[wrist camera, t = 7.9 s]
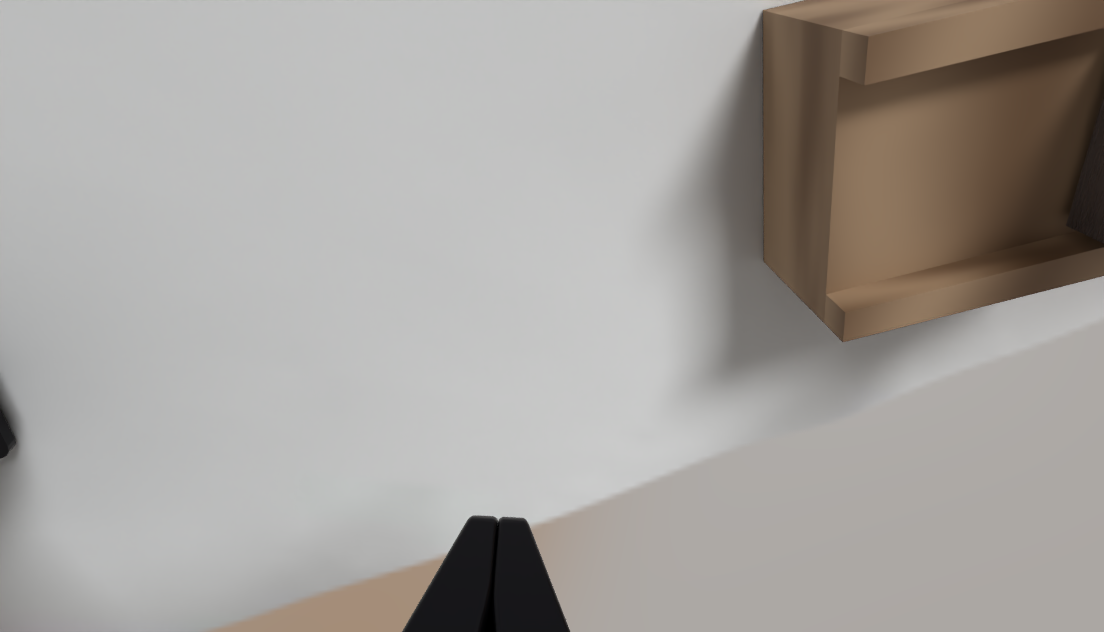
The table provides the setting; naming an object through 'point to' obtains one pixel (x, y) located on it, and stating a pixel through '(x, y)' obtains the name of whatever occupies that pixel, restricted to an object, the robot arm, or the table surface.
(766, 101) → the track
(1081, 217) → the plunger
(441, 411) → the table surface
